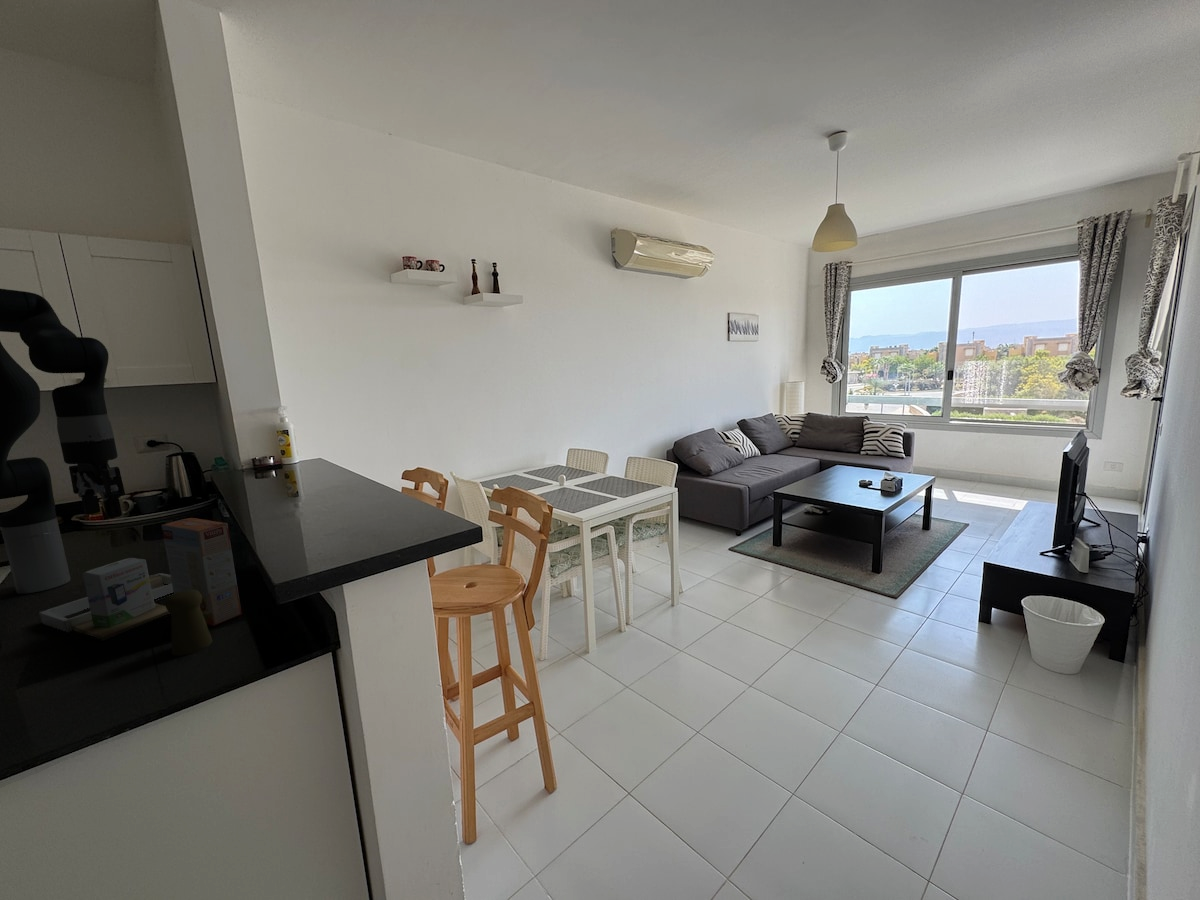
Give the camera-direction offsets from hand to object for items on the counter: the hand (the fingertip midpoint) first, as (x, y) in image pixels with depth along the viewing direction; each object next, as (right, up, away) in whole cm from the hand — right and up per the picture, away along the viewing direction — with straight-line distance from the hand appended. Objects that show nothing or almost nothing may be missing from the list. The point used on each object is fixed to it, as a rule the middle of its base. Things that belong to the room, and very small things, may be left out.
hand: (103, 515), depth 99 cm
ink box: (+1, -23, +4) cm, 23 cm away
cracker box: (+18, -23, +5) cm, 29 cm away
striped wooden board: (+1, -23, +4) cm, 24 cm away
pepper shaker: (+24, -24, -7) cm, 35 cm away
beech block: (-7, -22, +17) cm, 28 cm away
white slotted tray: (-9, -22, +12) cm, 27 cm away
